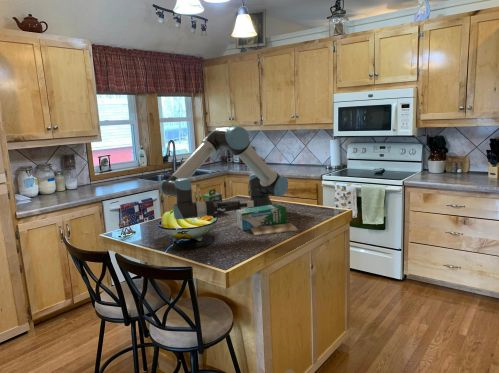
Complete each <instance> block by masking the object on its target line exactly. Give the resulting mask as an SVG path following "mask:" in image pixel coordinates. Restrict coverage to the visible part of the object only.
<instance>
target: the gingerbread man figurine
mask: <svg viewBox="0 0 499 373" xmlns="http://www.w3.org/2000/svg"><path fill="white" fill-rule="evenodd" d="M124 214H125V215H124ZM120 216H121V220H119V222H118V227H119V228H122V230H121V232H120V234H121V235H122V234H123V235H126V234H130V233H134V232H136V230H133V229H132V228H131V226H130V225H129V222H130V221H131V220H132V218H133V217H132V215H131V214H128V213H127V212H122V213H121V215H120ZM128 219H129V220H128ZM127 227H128V228H127ZM136 233H137V232H136ZM134 234H135V233H134Z"/></svg>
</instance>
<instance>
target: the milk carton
mask: <svg viewBox="0 0 499 373" xmlns="http://www.w3.org/2000/svg"><path fill="white" fill-rule="evenodd" d="M235 211H236V213H235V214H236V223H237V224H236V225H237V228H240V230H241V231H247V230H251V228H255V227H262V226H271V225H279V224H288V223H287V208H286V206H283V205H280V204H277V203H274V204H272V205H266V206H260V207H253V208H248V207H246V208H241V210H240V209H239V210H235Z"/></svg>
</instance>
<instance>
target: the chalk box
mask: <svg viewBox="0 0 499 373" xmlns="http://www.w3.org/2000/svg"><path fill="white" fill-rule="evenodd" d="M211 200H212V201H213V203H214V204H217V203H219V202H223V194H222V193H218V192H216V188H212V189H209V190H208V193H205V194H203V195H202V201H204V202H206V201H211ZM214 213H215V214H214V215H218V214H220V213H222V212H218V211H215V212H214Z"/></svg>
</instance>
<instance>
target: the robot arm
mask: <svg viewBox="0 0 499 373" xmlns="http://www.w3.org/2000/svg"><path fill="white" fill-rule="evenodd" d="M221 149H224V150H225V149H226V150H228V151H229V152H230V154H232V155H233V156H237V157H238V158H239V159H240V160H241V161H242V162H243V163H244V164H245V165H246V166H247V167H248V169H249V170H251V172H252V173H251V174H249V176H248V183H249V184H248V186H249V200H248V201H247V200H246V201H240V200H238V201H222V202H219V203H217V204H214V203H213V201H212V200H211V201H206V202H204V201H203V200H202V201H193V192H192V190H193V189H192V182H191V179H190V178H191V177H192V176H193V175H194V174H195V172H196V171H198V169H199V168H200V167H201V166H202V165H203V164H204V162H206V161H207V159H209V157H210V156H211V155H214V154H216V153H217V152H218V151H219V150H221ZM288 188H289V180H288V178H287V177H285V176H284V175H280V174H279V173H278V172H277V171H276V170H275V169H271V167H269V165H267V163H266V162H265V161H264V160H263V159H262V157H261V156H260V155H259V154H258V153H257V151H256V150H255V149H254V148H253V146H251V141H250V135H249V132H248V131H247V130H246V129H245V128H244V127H242V126H238V125H237V126H236V125H233V126H232V125H231V126H218V127H216V128H215V129H213V130H211V131H210V132H209V133H208V134H207V135H206V136H205V137H204V138H203V139H202V140H201V142H200V145H199V146H198V147H197V148H196V149H195V150H194V151H193V152H192V153H191V155H190V156H188V157H187V159H186V160H185V161H184V162H182V164H181V165H180V166H179V167H178V168H177V169H176V170H175V171H174V173H173V174H171V175H170V177H169V178H168V179H164V180H161V181H160V183H159V185H158V190H159V192H160V193H161V194H162V195H165V196H170V197H175V198H176V199H175V200H176V203H174V204H173V205H172V209H173V217H174V219H175V220H187V219H193V218H199V219H202V218H203V217H205V218H206V216H207V217H212V216H215V215H216V214H215V213H214V212H215V211H218V212H222V213H226V212H231V211H236V210H241V209H246V208H253V207H260V206H266V205H273V204H272V201H271V198H270V196H275V197H282V196H284V195H285V194H286V193H287V192H288Z"/></svg>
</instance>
